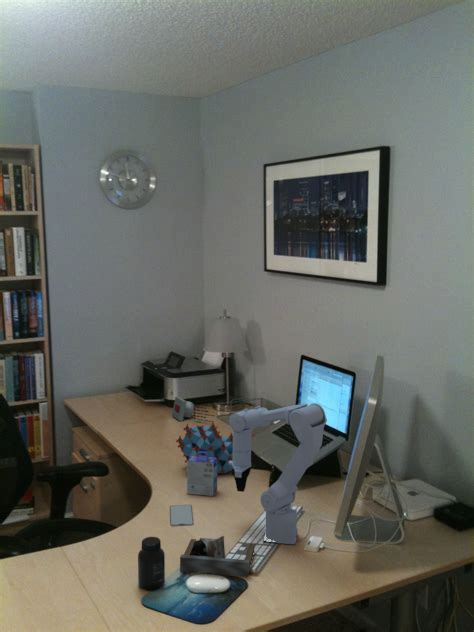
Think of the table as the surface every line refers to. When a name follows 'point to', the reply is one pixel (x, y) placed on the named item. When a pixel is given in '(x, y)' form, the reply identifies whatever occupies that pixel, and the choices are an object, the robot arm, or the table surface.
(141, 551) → the supplement bottle
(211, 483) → the ink cartridge box
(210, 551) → the caster wheel
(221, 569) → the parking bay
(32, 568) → the table surface
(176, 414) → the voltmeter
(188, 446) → the molecule model
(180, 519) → the smartphone
